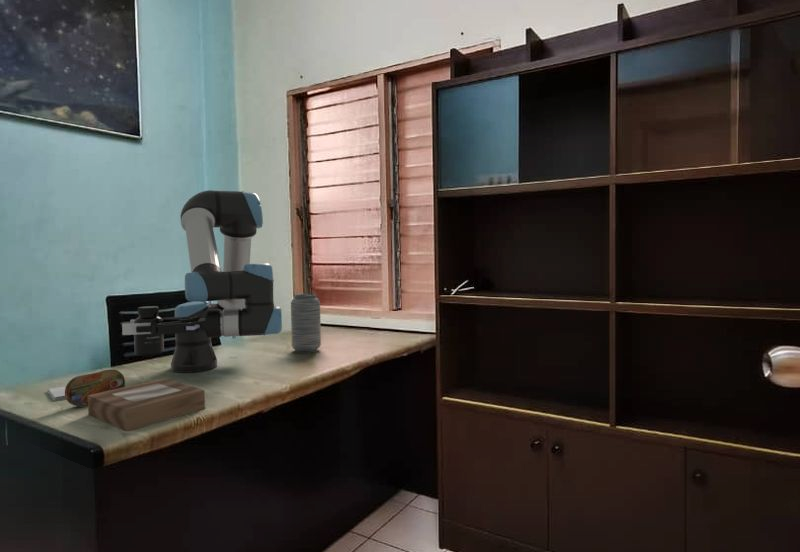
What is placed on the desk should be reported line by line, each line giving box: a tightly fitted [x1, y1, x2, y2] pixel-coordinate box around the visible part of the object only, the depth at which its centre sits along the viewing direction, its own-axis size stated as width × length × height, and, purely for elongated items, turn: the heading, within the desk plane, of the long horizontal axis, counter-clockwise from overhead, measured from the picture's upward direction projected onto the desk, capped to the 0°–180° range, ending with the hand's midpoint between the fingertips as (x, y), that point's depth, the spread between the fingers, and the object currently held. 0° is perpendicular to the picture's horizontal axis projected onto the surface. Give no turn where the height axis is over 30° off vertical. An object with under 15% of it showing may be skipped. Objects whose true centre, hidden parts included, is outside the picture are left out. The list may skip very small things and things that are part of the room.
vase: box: [290, 293, 322, 354], centre depth 203 cm, size 12×12×23 cm
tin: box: [65, 369, 126, 408], centre depth 138 cm, size 15×3×8 cm, turn 149°
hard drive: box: [47, 385, 67, 402], centre depth 147 cm, size 2×8×12 cm
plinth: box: [87, 378, 206, 432], centre depth 130 cm, size 20×20×5 cm
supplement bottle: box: [133, 305, 165, 357], centre depth 130 cm, size 7×7×12 cm
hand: (127, 327), depth 128 cm, fingers closed on supplement bottle, 7 cm apart
